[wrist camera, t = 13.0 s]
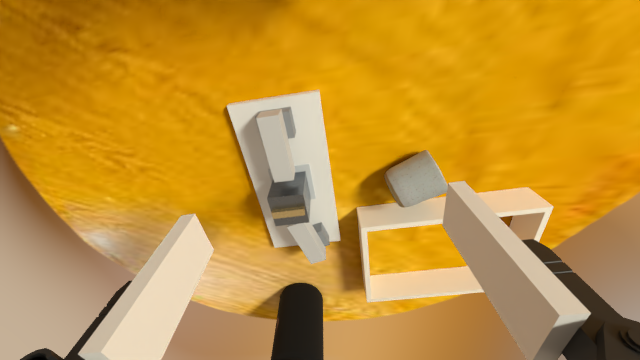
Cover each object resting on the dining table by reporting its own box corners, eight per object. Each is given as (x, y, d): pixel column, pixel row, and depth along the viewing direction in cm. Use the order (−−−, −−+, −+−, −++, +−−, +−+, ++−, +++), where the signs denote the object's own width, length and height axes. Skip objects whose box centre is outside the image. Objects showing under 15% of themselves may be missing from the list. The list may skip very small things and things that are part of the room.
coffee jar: (273, 286, 61) (258, 372, 46) (314, 277, 60) (312, 363, 44) (290, 310, 67) (281, 394, 51) (328, 302, 65) (330, 386, 49)
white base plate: (229, 103, 38) (212, 116, 32) (319, 89, 37) (318, 100, 31) (275, 242, 54) (270, 269, 48) (340, 235, 53) (342, 261, 47)
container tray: (356, 207, 49) (360, 228, 44) (527, 187, 46) (553, 206, 41) (363, 279, 60) (367, 302, 55) (500, 265, 58) (518, 288, 52)
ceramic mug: (377, 166, 44) (387, 190, 38) (420, 141, 42) (440, 163, 35) (402, 205, 49) (415, 232, 42) (442, 185, 46) (463, 211, 40)
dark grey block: (281, 200, 46) (274, 229, 39) (274, 175, 43) (265, 201, 36) (310, 197, 45) (309, 225, 39) (305, 171, 43) (302, 197, 36)
